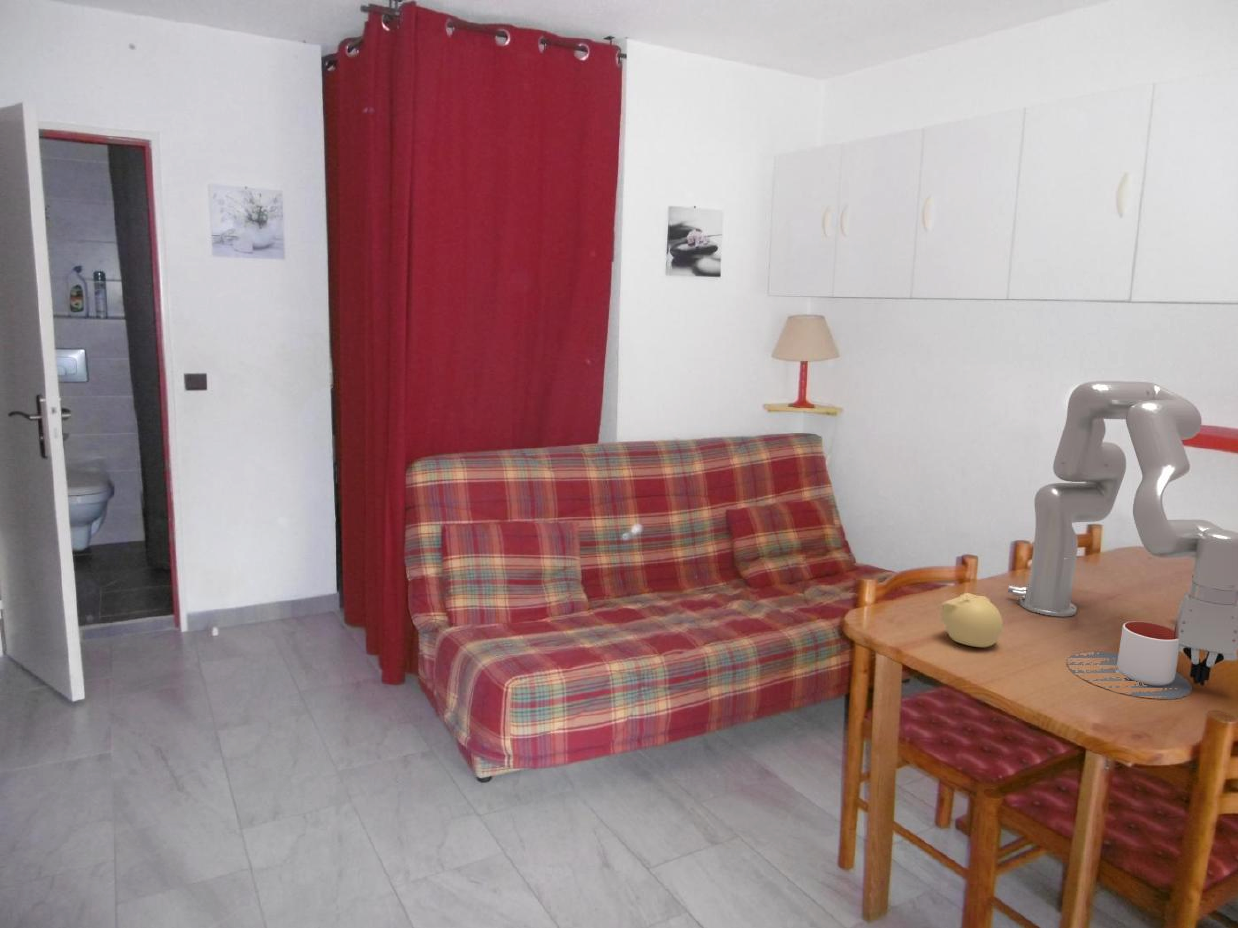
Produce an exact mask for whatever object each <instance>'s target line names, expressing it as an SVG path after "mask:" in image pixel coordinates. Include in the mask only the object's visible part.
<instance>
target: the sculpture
mask: <svg viewBox="0 0 1238 928" xmlns="http://www.w3.org/2000/svg"><path fill="white" fill-rule="evenodd" d="M940 613H941V614H940V615H941V617H940V618H941V620H942V622H943V625H944V626H945V629H946V632H947V635H949V637H950V638H951V640H953V642H956V643H959V644H962V645H965V646H969V647H974V648H975V647H976V648H988V647H992V646H993V645H994V644H996V642H997V641H998V640H999V639H1000V636H1001V634H1002V633H1003V625H1004V624H1003V623H1004V622H1003V618H1002V614H1001V613H1000V610H999V609H998V608H997V606H995V604H993V603H992V602H991V599H989V598H988V597H987V596H983V595H976V594H972V593H969V592H966V593H962V594H960V595H959V596H957V597H955V598H952V599H948V600H945V601H943V603H942V604H941V612H940Z"/></svg>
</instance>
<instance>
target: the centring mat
mask: <svg viewBox="0 0 1238 928" xmlns="http://www.w3.org/2000/svg"><path fill="white" fill-rule="evenodd" d="M1093 652H1094V654H1093V655H1091V654H1092V653H1091V654H1090V655H1089V654H1087V655H1086V656H1084V655H1080V654H1079V655H1078V656H1076V655H1074V654H1071V655H1070V656H1069V657H1068V658H1109V661H1107V659H1106V660H1105V661H1101V662H1100V664H1099V663H1095V664H1094V663H1093V665H1097V664H1099V665H1117V662H1118V655H1119V653H1116V652H1107V651H1093ZM1098 652H1099V654H1097V653H1098ZM1113 658H1115V659H1113ZM1103 660H1104V659H1103ZM1071 661H1072V660H1071ZM1078 661H1079V660H1078ZM1093 662H1094V661H1093ZM1068 663H1069V662H1068ZM1068 663H1067V662H1066V666H1067V665H1084V664H1082V663H1084V662H1080V663H1078V664H1074V663H1076V662H1072V663H1071V662H1070V664H1068ZM1090 663H1092V662H1090ZM1090 663H1086V664H1085V665H1091V664H1090ZM1078 669H1079V668H1078ZM1100 670H1101V671H1097V670H1093V671H1090V672H1087V671H1089V670H1086V673H1092V672H1093V673H1120V672H1119V670H1118V668H1116V670H1115V668H1114V669H1113V668H1109V669H1104V670H1103V668H1102V669H1100ZM1071 671H1072V672H1071ZM1071 671H1070V672H1071V673H1072V674H1074V673H1085V672H1084V671H1082V670H1078V672H1075V671H1076V670H1072V669H1071ZM1094 671H1095V672H1094ZM1103 678H1104V677H1103ZM1117 678H1120V677H1116V679H1114V678H1112V677H1109V680H1108V679H1107V678H1104V679H1100V681H1122V679H1117ZM1124 679H1125V680H1124V681H1133V680H1131V679H1129V678H1128V679H1129V680H1128V679H1127V678H1124ZM1087 681H1089V680H1086V681H1085V682H1087ZM1093 681H1099V679H1096V680H1093ZM1134 685H1135V686H1132V687H1131V688H1163V689H1162V691H1154V692H1150V691H1147V692H1144V691H1143V692H1141V691H1139V692H1132V693H1131V694H1127V693H1126V694H1127V695H1126V696H1129V695H1132V696H1131V697H1134V696H1162V697H1161V698H1158V697H1157V698H1155V697H1154V698H1155V699H1154V700H1159V699H1168V700H1176V699H1175V698H1178V699H1181V697H1182V698H1184V697H1183V696H1185V697H1186V696H1188V695H1189V694H1191V692H1192V685H1191V683H1190V682H1189V681H1188V680H1187V678H1185V677H1184V676H1182V675H1181V674H1180V673H1178V672H1176V674H1175V679H1174V680H1173V682H1171V683H1170V684H1167V685H1162V686H1155V685H1147V684H1144V685H1147V686H1143V685H1142V683H1141V684H1140V683H1139V686H1136V684H1134ZM1101 687H1102V686H1101ZM1101 687H1100V688H1101ZM1119 687H1120V686H1116V688H1119ZM1126 687H1128V686H1126ZM1103 688H1105V687H1103ZM1103 688H1102V689H1103ZM1109 688H1112V686H1109ZM1124 688H1125V687H1124ZM1165 688H1167V690H1164V689H1165ZM1169 688H1172V689H1169ZM1175 688H1177V689H1175ZM1158 690H1159V689H1158ZM1124 694H1125V693H1124ZM1124 694H1123V695H1124ZM1164 696H1166V697H1164ZM1147 698H1148V697H1147ZM1147 698H1146V699H1147Z"/></svg>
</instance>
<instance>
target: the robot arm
mask: <svg viewBox="0 0 1238 928" xmlns="http://www.w3.org/2000/svg"><path fill="white" fill-rule="evenodd" d="M1067 403H1068V404H1067V408H1066V409H1067V411H1066V421H1065V425H1064V428H1063V431H1062V433H1061V436H1060V440H1059V444H1058V447H1057V450H1056V453H1055V456H1054V460H1053V464H1052V469H1053V473H1054V475H1055V477H1057V479H1059V480H1061V481H1064V482H1056V483H1055V482H1054V483H1050V484H1046V485H1044V486H1042V487H1041V488H1039V489H1038V490H1037V492H1036V494H1035V497H1034V502H1033V503H1034V515H1035V533H1034V539H1033V540H1034V541H1033V548H1032V549H1033V550H1032V556H1031V564H1030V571H1029V572H1030V573H1029V580H1028V581H1029V582H1028V583H1027V586H1026V585H1023V586H1018V585H1013V584H1009V585H1008V590H1007V591H1008V593H1011V594H1012V596H1020V598H1019V604H1020V606H1021V607H1022V608H1024V609H1025V610H1028V611H1030V612H1033V613H1036V612H1037V614H1039V613H1040V615H1043V614H1044V616H1049V615H1050V617H1059V616H1060V617H1063V618H1064V617H1070V616H1074V615H1076V613H1077V606H1076V605H1075V604H1074V603H1072V602H1071V600H1072V592H1073V584H1074V580H1075V579H1074V578H1075V571H1076V564H1077V563H1076V562H1077V557H1078V555H1077V554H1078V547H1079V539H1078V536H1077V533H1076V531H1075V529H1074V526H1073V523H1090V522H1091V523H1093V522H1094V523H1095V522H1100V521H1102V520H1104V519H1106V518H1108V517H1109V515H1110V514H1111V512H1112V510H1113V508H1114V505H1115V502H1116V500H1117V497H1118V494H1119V491H1120V489H1121V486H1122V482H1123V480H1124V478H1125V474H1126V470H1127V459H1126V455H1125V452H1124V450H1123V449H1122V448H1121V447H1120V446H1119V445H1118V444H1116V443H1113V442H1109V441H1103V440H1104V438H1105V435H1106V431H1107V430H1106V428H1107V427H1106V422H1105V420H1125V423H1126V427H1127V431H1128V433H1129V436H1130V440H1131V443H1132V447H1133V449H1134V453H1135V456H1136V459H1137V462H1138V466H1139V468H1140V471H1141V472H1140V473H1141V475H1142V478H1141V481H1140V483H1139V485H1138V487H1137V489H1136V492H1135V495H1134V499H1133V505H1132V515H1133V520H1134V524H1135V527H1136V529H1137V533H1138V537H1139V539H1140V541H1141V543H1142V545H1143V547H1144V548H1145V550H1146V551H1147V552H1148V553H1149V554H1150V555H1152V556H1154V557H1157V558H1161V559H1172V558H1173V559H1174V558H1175V559H1177V558H1194V563H1193V568H1192V574H1191V581H1190V588H1189V592H1188V593H1187V592H1186V593H1185V594H1183V596H1182V599H1181V602H1180V603H1179V604H1180V605H1179V608H1178V611H1177V616H1176V620H1175V625H1174V629H1173V630H1174V639H1179V645H1180V649H1179V653H1184V654H1185V656H1186V657H1187V658H1188V659H1189V661H1191V663H1190V664H1191V665H1190V671H1189V678H1192V680H1193V681H1192V682H1193V684H1194V685H1200V686H1205V681H1207V682H1209V680H1210V676H1211V675H1210V674H1211V670H1212V669H1211V668H1213V667H1214V665H1216V664H1218V663H1220V662H1222V661H1237V660H1238V654H1237V653H1238V532H1235V531H1233V530H1232V531H1231V530H1227V529H1224V528H1221V526H1220V527H1219V526H1218V525H1217V524H1214V522H1211V521H1208V520H1205V519H1168V518H1167V515H1166V513H1165V509H1164V504H1163V495H1164V491H1165V489H1166V488H1167V486H1168V484H1169V483H1170V482H1173V481H1175V480H1178V479H1180V478H1181V477H1184V476H1185V475H1186V474H1187V473H1188V472H1189V471H1190V469H1191V464H1190V461H1189V459H1188V456H1187V453H1186V450H1185V447H1184V444H1183V441H1184V440H1189V439H1192V438H1194V437H1196V436H1197V434H1199V432H1200V431H1201V428H1202V424H1203V423H1202V420H1203V419H1202V416H1201V412H1200V411H1199V409H1198V408H1197V407H1196V405H1194V403H1193V402H1191V401H1190V400H1188V399H1186V398H1184V397H1183V396H1180V395H1178V394H1177V393H1175V392H1172V391H1171V390H1168V389H1167V388H1165V387H1163V386H1161V385H1158V384H1157V383H1153V382H1149V381H1123V380H1099V381H1097V380H1096V381H1088V382H1087V381H1086V382H1083V383H1082V384H1079V385H1078V386H1077V387H1075V388H1074V389H1073V391H1072V392H1071V394H1070V396H1069V398H1068V402H1067ZM1182 440H1183V441H1182ZM1065 481H1066V482H1065ZM1174 639H1173V640H1174ZM1200 651H1202V652H1203V651H1205V652H1207V653H1206V655H1205V657H1204V659H1202V661H1201V659H1200Z"/></svg>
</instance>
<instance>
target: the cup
mask: <svg viewBox="0 0 1238 928" xmlns="http://www.w3.org/2000/svg"><path fill="white" fill-rule="evenodd" d="M1173 639H1174V629H1172V628H1170V627H1168V626H1165V625H1162V624H1157V623H1154V622H1147V621H1134V620H1133V621H1127V622H1125V623H1123V625H1122V629H1121V637H1120V642H1119V649H1118V654H1119V655H1118V662H1117V668H1118V670H1119V672H1120V673H1121V674H1122V675H1124V676H1125V677H1127V678H1129V679H1131V680H1133V681H1136V682H1139V683H1143V684H1147V685H1155V686H1162V685H1167V684H1170V683H1171V682H1173V680H1174V679H1175V674H1176V673H1177V668H1178V667H1177V666H1178V660H1179V654H1180V651H1179V649H1180V645H1179V639H1174V640H1173Z"/></svg>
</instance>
